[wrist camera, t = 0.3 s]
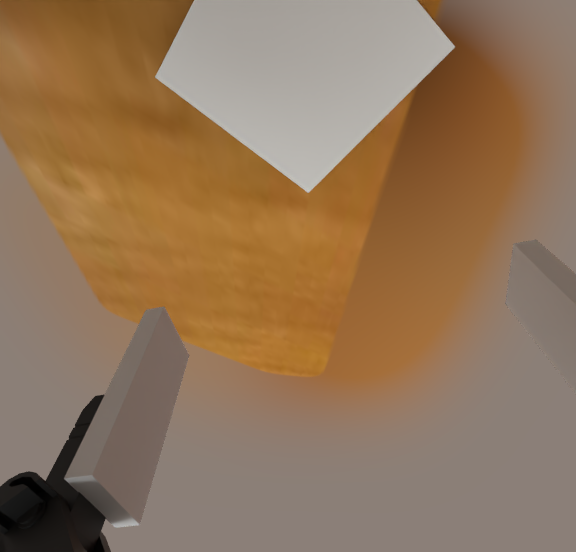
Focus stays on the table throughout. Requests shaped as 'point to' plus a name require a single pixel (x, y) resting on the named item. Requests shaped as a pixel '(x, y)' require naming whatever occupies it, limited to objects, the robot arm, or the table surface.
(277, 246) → the table surface
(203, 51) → the white square mat
